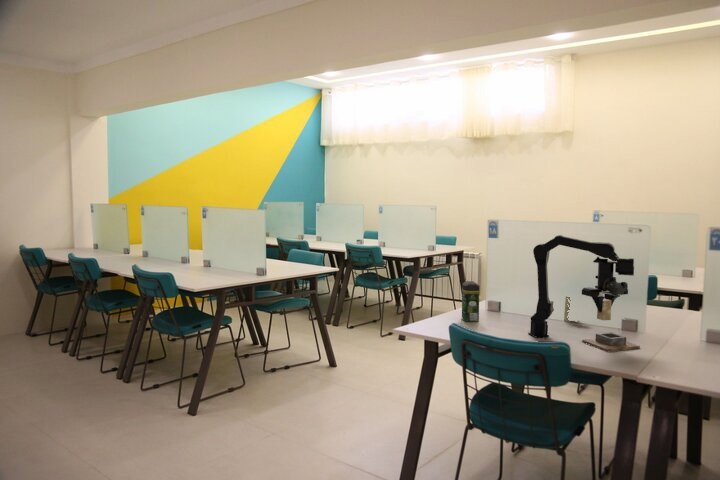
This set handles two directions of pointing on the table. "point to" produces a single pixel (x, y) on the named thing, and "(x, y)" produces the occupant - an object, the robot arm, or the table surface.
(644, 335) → the table surface
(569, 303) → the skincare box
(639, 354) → the table surface
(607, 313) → the maple peg
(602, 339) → the collar stand
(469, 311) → the coffee jar
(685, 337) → the table surface
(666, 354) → the table surface
